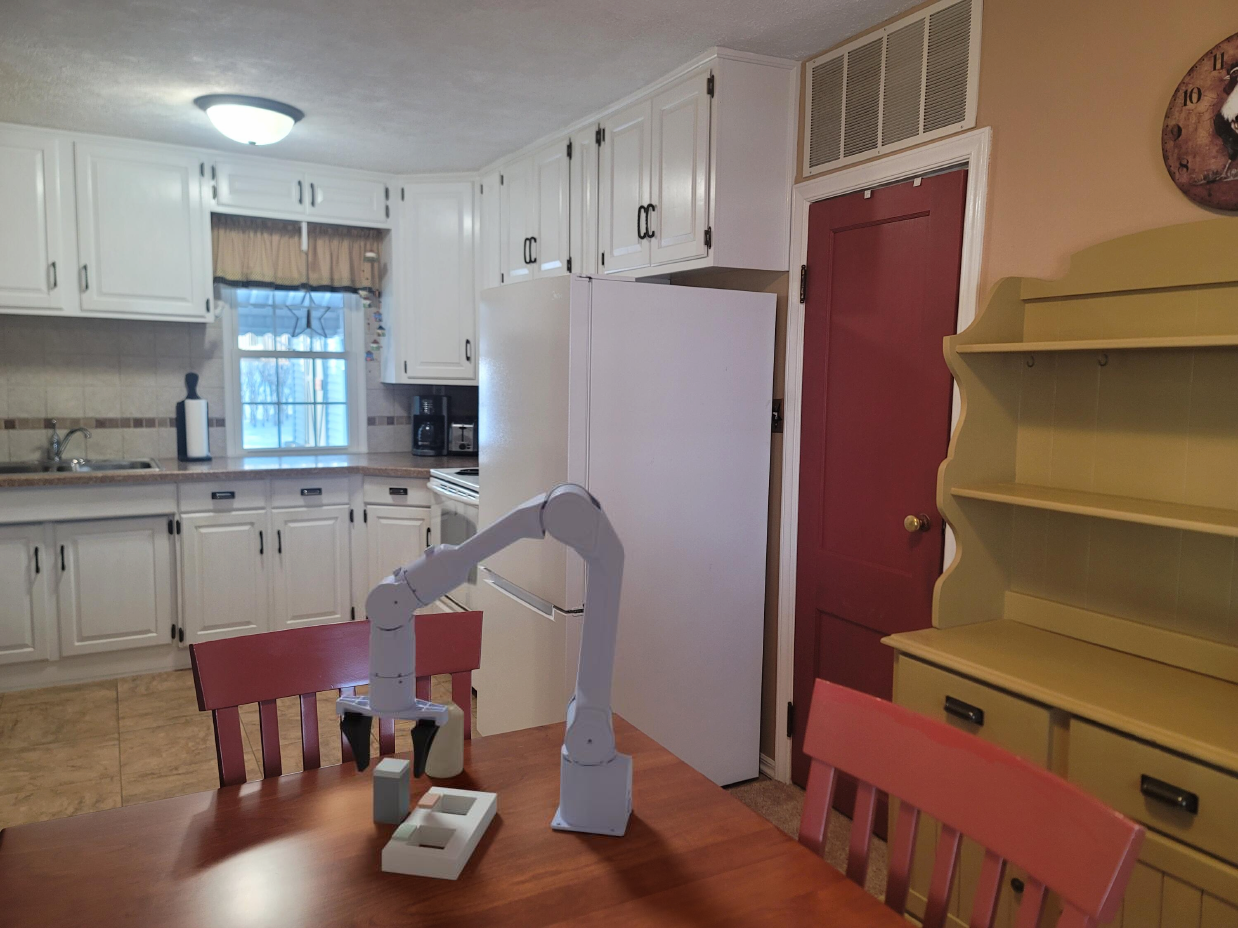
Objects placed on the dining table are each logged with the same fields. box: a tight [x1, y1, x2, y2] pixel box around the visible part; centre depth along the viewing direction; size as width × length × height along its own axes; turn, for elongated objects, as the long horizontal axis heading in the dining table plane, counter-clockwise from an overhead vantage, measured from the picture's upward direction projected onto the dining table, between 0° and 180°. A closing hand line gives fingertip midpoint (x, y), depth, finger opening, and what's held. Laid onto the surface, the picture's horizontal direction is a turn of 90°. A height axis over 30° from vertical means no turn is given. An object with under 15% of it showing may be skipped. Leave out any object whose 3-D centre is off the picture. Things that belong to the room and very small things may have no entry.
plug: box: [372, 757, 411, 825], centre depth 113 cm, size 4×4×7 cm
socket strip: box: [381, 786, 498, 881], centre depth 108 cm, size 9×16×3 cm, turn 171°
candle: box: [424, 700, 465, 779], centre depth 126 cm, size 6×6×10 cm
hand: (391, 771), depth 113 cm, fingers open, 7 cm apart
